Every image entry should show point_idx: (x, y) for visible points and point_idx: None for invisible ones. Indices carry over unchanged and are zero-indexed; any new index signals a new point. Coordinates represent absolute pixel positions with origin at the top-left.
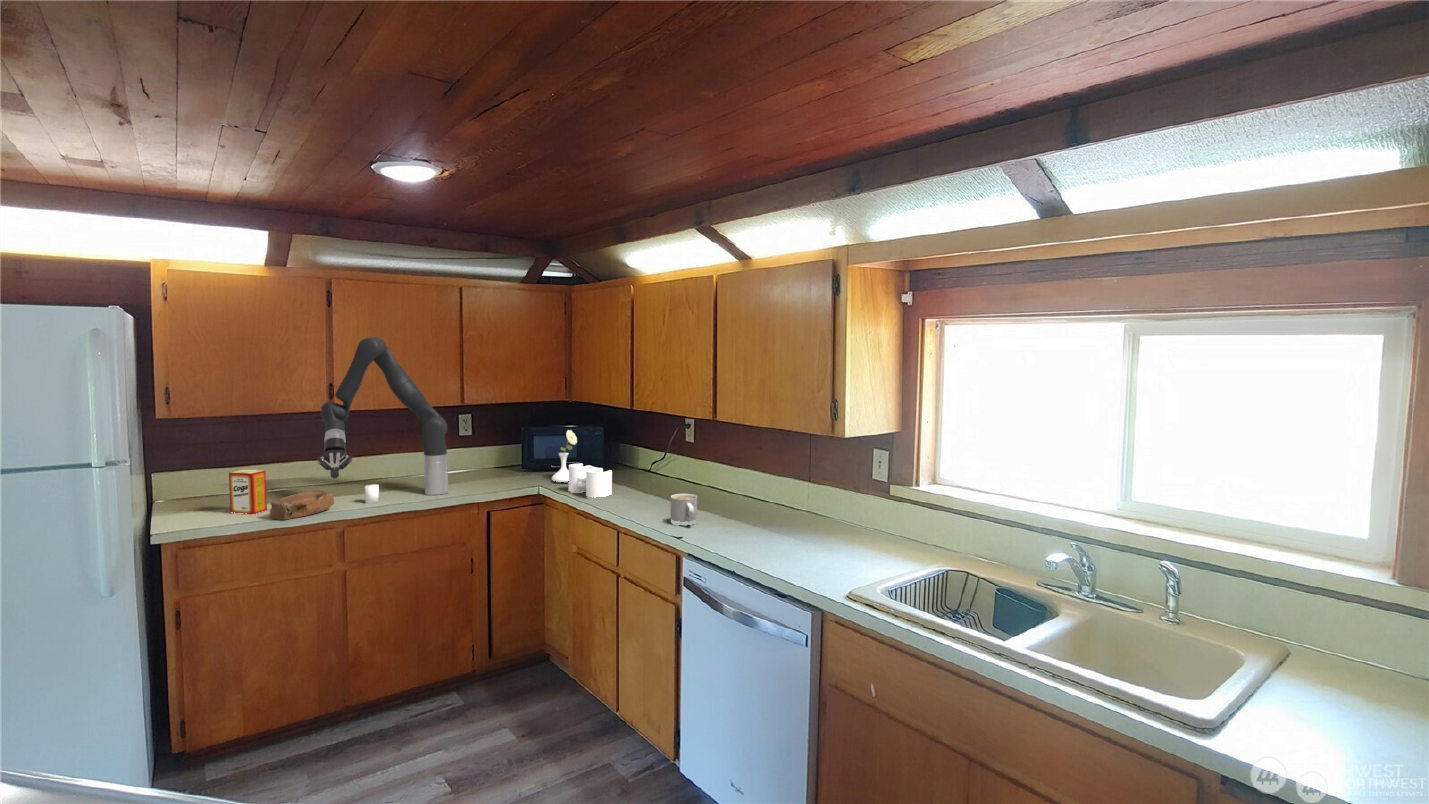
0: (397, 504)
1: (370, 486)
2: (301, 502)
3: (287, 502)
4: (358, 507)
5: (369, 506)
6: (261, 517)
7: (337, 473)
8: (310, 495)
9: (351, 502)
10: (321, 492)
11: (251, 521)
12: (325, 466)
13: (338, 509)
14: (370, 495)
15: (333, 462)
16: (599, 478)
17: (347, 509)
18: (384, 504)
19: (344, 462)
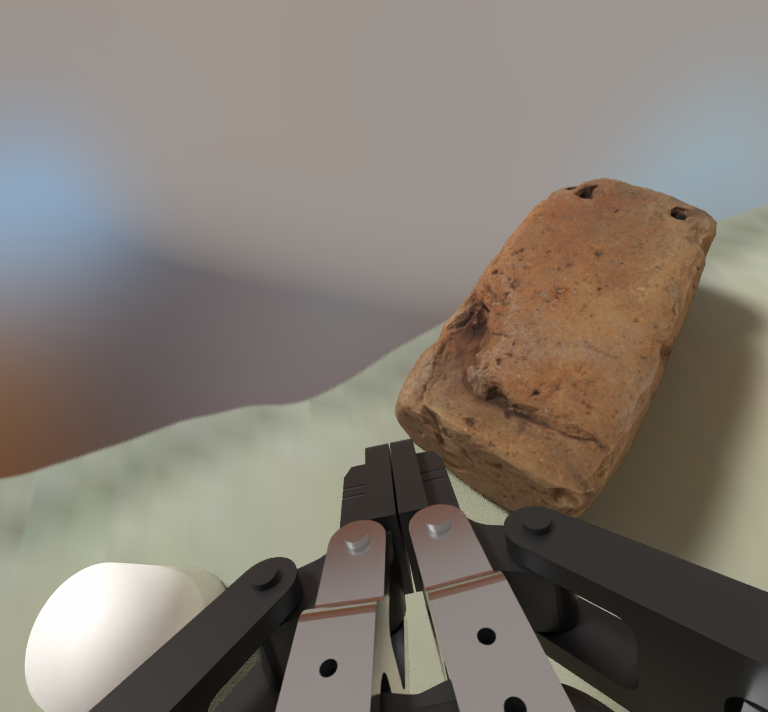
0: (51, 502)
1: (109, 577)
2: (526, 218)
3: (590, 181)
4: (269, 466)
5: (208, 481)
6: (748, 320)
7: (359, 478)
8: (518, 285)
9: None
10: (478, 375)
11: (739, 254)
12: (562, 524)
13: (377, 435)
14: (162, 566)
15: (430, 594)
16: None
17: (326, 425)
18: (119, 521)
19: (204, 639)
